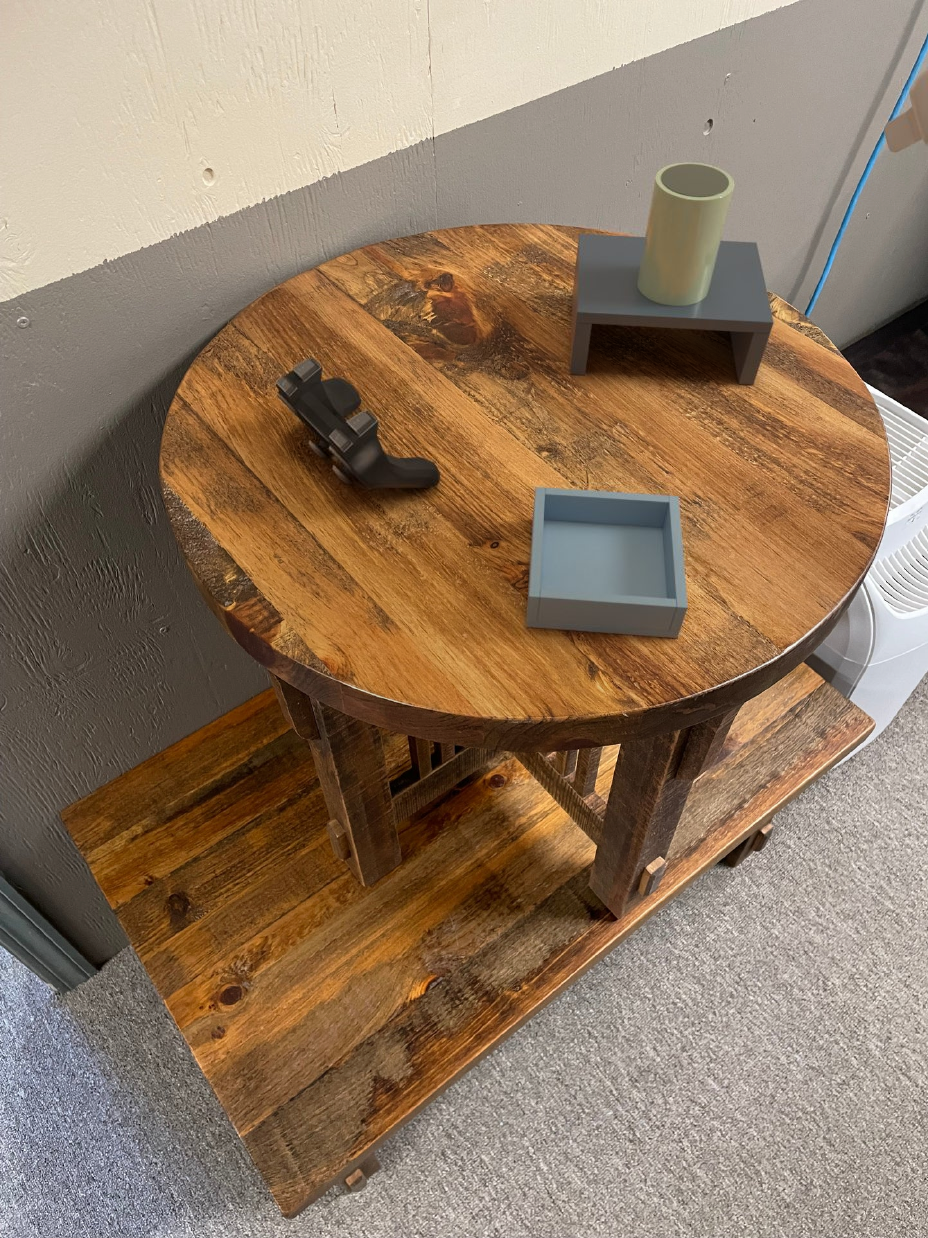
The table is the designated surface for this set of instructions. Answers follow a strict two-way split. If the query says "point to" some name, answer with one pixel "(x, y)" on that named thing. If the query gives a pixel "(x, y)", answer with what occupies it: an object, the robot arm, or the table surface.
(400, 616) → the table surface
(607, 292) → the shelf
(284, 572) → the table surface
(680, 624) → the open bin
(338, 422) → the game controller
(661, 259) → the cup
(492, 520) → the table surface
